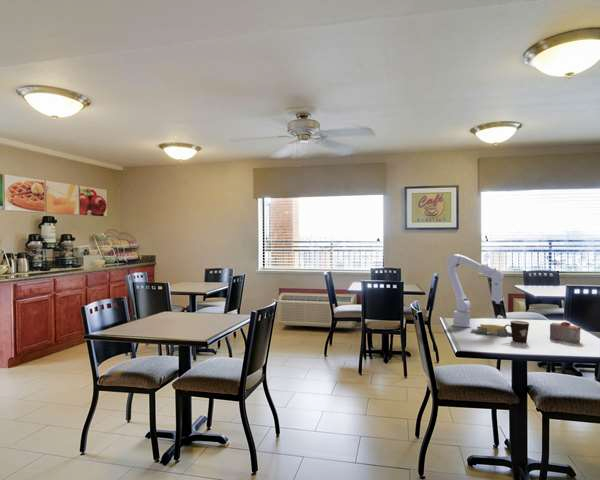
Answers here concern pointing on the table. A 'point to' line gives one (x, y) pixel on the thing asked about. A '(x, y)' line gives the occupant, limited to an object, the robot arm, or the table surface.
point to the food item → (565, 332)
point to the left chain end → (479, 330)
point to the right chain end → (503, 333)
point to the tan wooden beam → (492, 327)
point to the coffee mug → (518, 331)
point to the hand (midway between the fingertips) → (496, 314)
